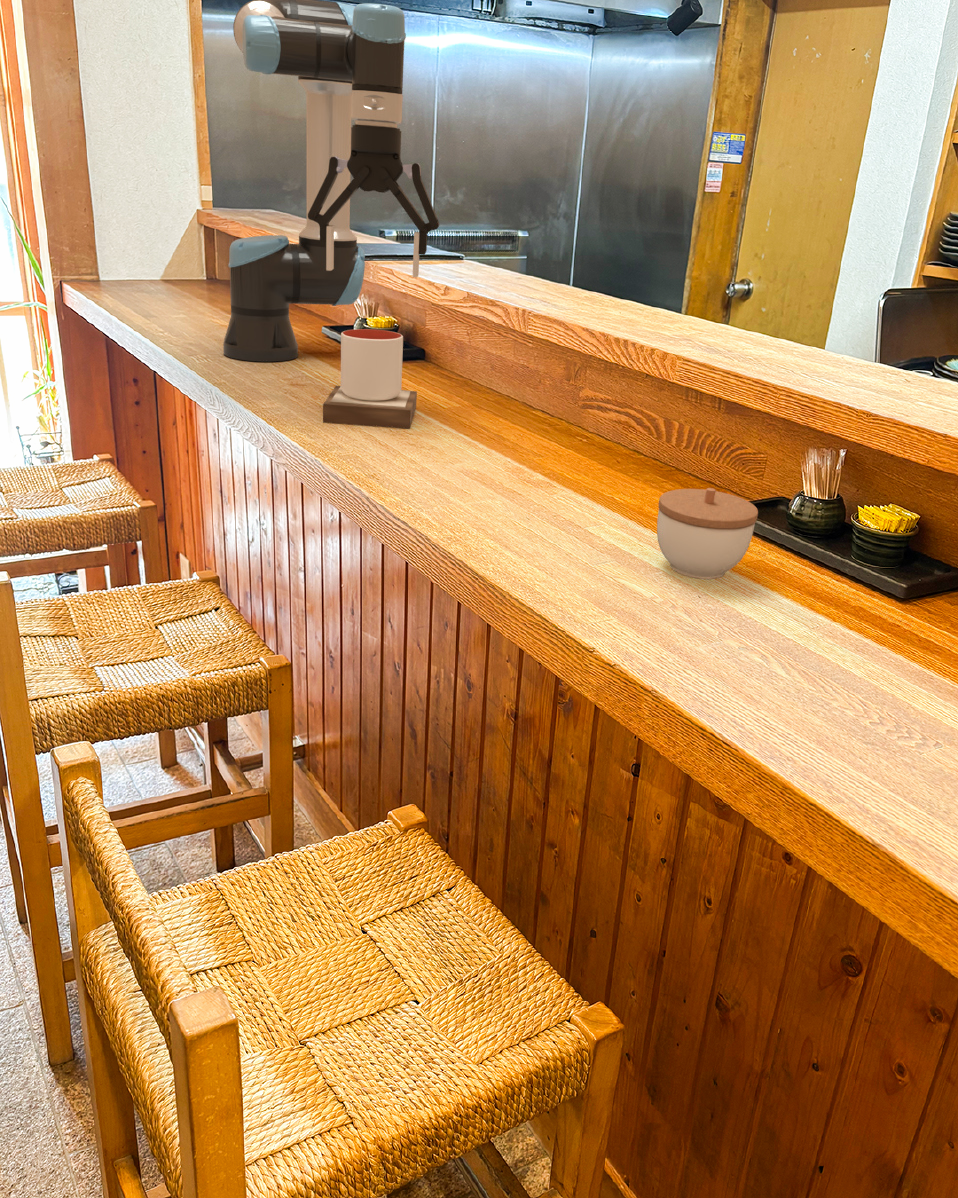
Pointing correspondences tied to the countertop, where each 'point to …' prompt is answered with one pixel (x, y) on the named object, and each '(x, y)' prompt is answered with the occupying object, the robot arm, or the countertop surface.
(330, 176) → the robot arm
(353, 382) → the cup
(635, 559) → the countertop surface
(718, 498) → the lidded jar
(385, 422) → the stand
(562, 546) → the countertop surface
